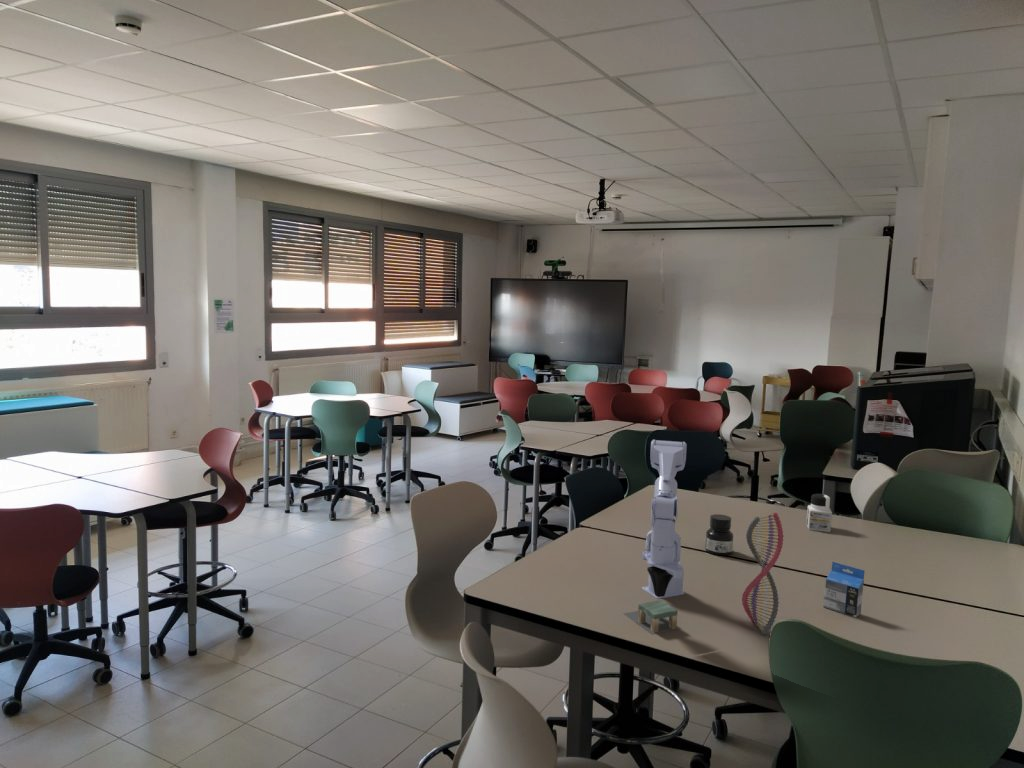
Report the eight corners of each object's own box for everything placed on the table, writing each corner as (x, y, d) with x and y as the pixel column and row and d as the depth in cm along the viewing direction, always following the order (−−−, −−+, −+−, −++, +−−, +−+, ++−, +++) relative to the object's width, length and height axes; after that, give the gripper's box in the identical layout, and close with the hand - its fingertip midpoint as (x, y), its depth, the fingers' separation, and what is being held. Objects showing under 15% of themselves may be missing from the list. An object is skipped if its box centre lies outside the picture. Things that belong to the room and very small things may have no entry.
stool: (638, 603, 182) (654, 614, 176) (660, 600, 185) (677, 610, 179) (637, 621, 183) (653, 632, 177) (659, 616, 186) (676, 628, 179)
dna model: (768, 620, 186) (776, 509, 183) (782, 636, 177) (791, 520, 174) (735, 620, 186) (742, 509, 183) (747, 635, 177) (755, 519, 174)
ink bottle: (704, 554, 236) (706, 519, 235) (703, 545, 245) (705, 512, 243) (734, 557, 234) (736, 522, 233) (732, 549, 242) (734, 515, 241)
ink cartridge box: (822, 607, 196) (826, 564, 195) (828, 603, 199) (831, 561, 197) (856, 618, 190) (859, 573, 188) (861, 614, 192) (865, 570, 191)
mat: (651, 609, 191) (651, 608, 191) (681, 629, 179) (681, 628, 179) (623, 614, 187) (623, 613, 187) (651, 635, 176) (651, 634, 176)
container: (808, 530, 267) (811, 496, 265) (806, 524, 274) (808, 491, 273) (830, 532, 264) (833, 498, 263) (827, 526, 272) (830, 493, 270)
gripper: (632, 536, 183) (630, 587, 185) (667, 555, 170) (664, 609, 172) (655, 533, 186) (652, 583, 188) (690, 551, 173) (687, 605, 175)
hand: (659, 595), depth 180 cm, fingers closed
